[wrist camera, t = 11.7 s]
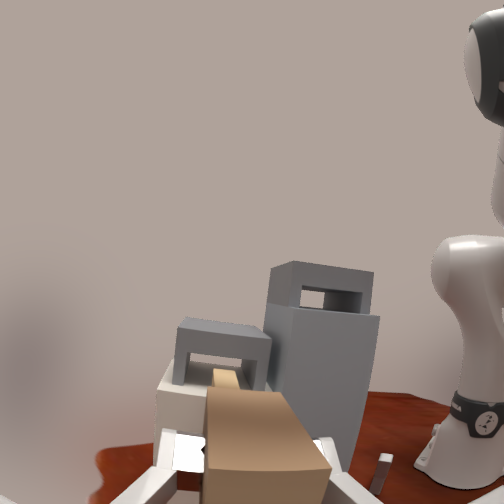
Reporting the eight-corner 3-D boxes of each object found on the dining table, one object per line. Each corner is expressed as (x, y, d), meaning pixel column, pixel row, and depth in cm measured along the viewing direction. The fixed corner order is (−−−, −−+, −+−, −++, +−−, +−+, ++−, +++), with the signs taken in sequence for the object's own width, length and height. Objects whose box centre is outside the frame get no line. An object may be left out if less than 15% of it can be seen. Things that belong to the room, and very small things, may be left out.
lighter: (372, 480, 35) (386, 437, 36) (383, 482, 34) (397, 438, 35) (363, 503, 29) (379, 456, 30) (375, 505, 28) (392, 458, 29)
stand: (324, 539, 22) (384, 270, 26) (153, 536, 20) (175, 239, 24) (297, 487, 34) (334, 277, 38) (164, 480, 32) (185, 256, 36)
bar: (300, 558, 6) (332, 468, 6) (199, 560, 5) (208, 468, 6) (241, 390, 23) (247, 341, 23) (202, 386, 22) (207, 336, 23)
